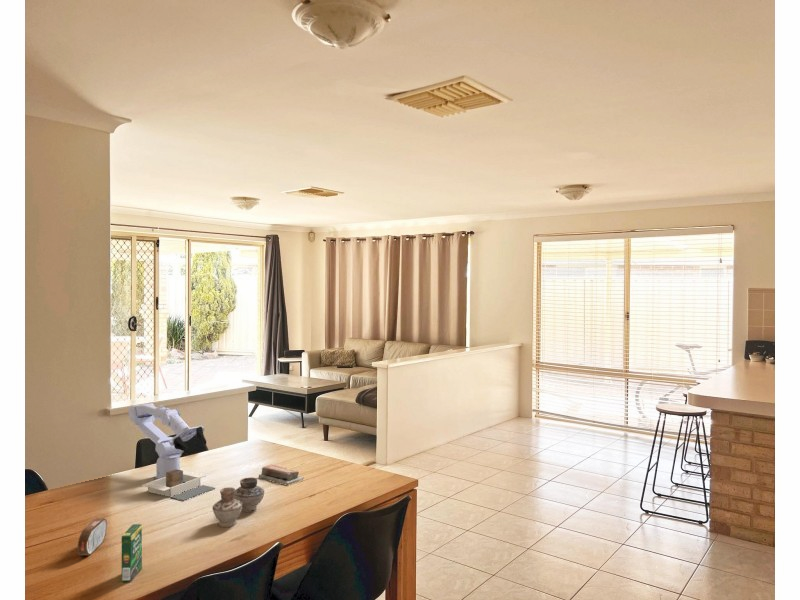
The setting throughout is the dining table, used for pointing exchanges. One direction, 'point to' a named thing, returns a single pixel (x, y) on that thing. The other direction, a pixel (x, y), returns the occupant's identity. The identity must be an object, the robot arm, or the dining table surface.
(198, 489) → the mat
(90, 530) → the tin
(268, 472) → the packaged product
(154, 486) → the carton
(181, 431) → the robot arm
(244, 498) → the pottery
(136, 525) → the coffee box
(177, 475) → the block
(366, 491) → the dining table surface
